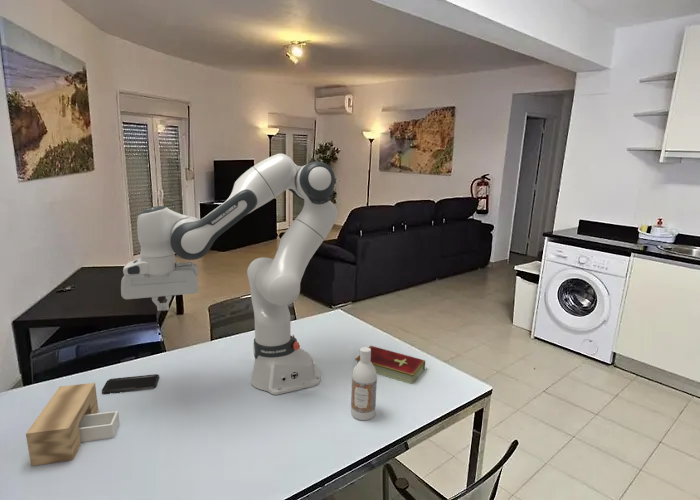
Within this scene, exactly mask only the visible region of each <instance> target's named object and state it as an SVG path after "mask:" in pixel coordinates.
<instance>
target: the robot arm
mask: <svg viewBox="0 0 700 500" xmlns="http://www.w3.org/2000/svg"><path fill="white" fill-rule="evenodd" d="M292 159H293V158H291V157H290V156H288V155H287V154H284V153H276V154H274V155H271V156H269V157H267V158H265V159H263V160H261V161H260V162H258V163H256V164H255V165H253V166H251V167H250V168H249V169H247V170H246V171H245V172H244V173H242V174H241V175H240V176H239V177H238V178H237V179H236V181H234V183H233V187H232V190H231V193H230V195H229V197H228V198H227V199H226V200H225V201H224V202H222V204H220V205H219V206H217V207H216V208H214V209H213V210H212V211H210V212H209V213H208V214H207V215H205V216H204V217H202V218H200V219H198V217H194V216H191V215H185V214H182V213H179V212H177V211H174V210H172V209H171V208H168V207H167V206H166V205H160V206H159V205H157V206H151V207H148V208H145V209H143V210H142V211H141V212H139V214H138V216H137V225H136V227H137V228H136V229H137V239H138V240H137V241H138V243H139V245H140V253H139V258H137V259H134V260H132V261H129V262H128V263H126V264H125V265H124V267H123V270H122V272H123V277H122V278H121V280H120V281H121V282H120V294H121V295H120V296H121V297H122V299H124V300H134V299H136V300H137V299H145V298H146V299H147V298H151V301H152V302H153V303H154V305H155V306H156V309H157V310H156V311H158V312H161V311H169V310H170V307H169V306H170V305H169V304H170V302H171V300H172V298H173V296H180V295H183V296H184V295H193V294H194V295H195V294H196V293H198V291H199V288H200V287H199V281H198V277H197V276H198V274H199V267H198V265H197V264H196V263H193V262H191V261H193V260H198V259H201V258H203V257H204V256H205V255H206V254H208V252H209V251H210V250H211V248H212V246H213V245H214V243H215V241H216V240H217V239H218V238H219V237H220V236H221V235H223V234H224V233H225V232H226V231H228V230H229V229H230V228H231V227H233V226H234V225H236V224H237V223H238V222H239V221H241V220H242V219H243V218H244V217H245V216H247V215H248V214H251V213H252V212H254V211H255V210H257V209H259V208H260V207H262V206H264V205H265V204H267V203H269V202H271V201H272V200H274V198H276V197H277V196H279V195H280V194H282V193H283V192H285V191H287V190H288V191H290V192H291V193H293V194H294V195H295V196H296V197H297V198H299V199H301V200H303V201H304V203H303V207H302V209H301V211H300V213H299V214H297V216H296V217H295V219H294V220H293V221H292V223H291V224H290V225H289V227H288V228H287V230H286V231H285V232H284V234H283V235H282V236H281V237H280V239H279V246H278V249H277V251H276V253H275V256H274V258H271V257H258V258H256V259H253V261H251V262H250V264H249V265H248V267H247V269H246V270H247V271H246V275H247V278H248V283H249V291H250V299H251V304H252V308H253V310H252V311H253V315H254V339H253V357H254V361H253V362H254V363H253V369H252V374H251V378H250V384H251V385H252V386H253V387H255V388H257V389H258V390H261V391H265V392H268V393H270V394H272V395H274V396H275V395H276V396H277V395H282V394H286V393H289V392H290V393H291V392H296V391H299V390H303V389H307V388H312V387H315V386H318V385H320V383H321V382H322V373H321V370H320V368H319V367H318V366H317V365H316V364H315V363H314V360H313V358H312V357H311V354H310V353H308V352H307V351H305V350H304V349H302V348H301V345H300V343H299V342H298V340H297V338H296V337H295V335H294V334H291V313H290V309H289V306H290V305H292V304H293V303H295V301H296V300H297V299H298V298H299V295H300V292H301V282H302V278H303V276H304V274H305V271H306V268H307V267H308V265H309V262H310V260H311V259H312V258H313V256H314V255H315V253H316V251H318V249H319V247H320V246H321V245H322V243H323V242H324V240H325V239H326V238H327V236H328V235H329V234H330V232H331V230H332V229H333V227H334V224H335V223H336V220H337V218H338V216H339V215H338V214H339V213H338V209H337V207H336V205H335V204H334V203H333V202H332V201H331V200H333V197H334V188H335V185H336V183H335V182H336V178H335V177H336V176H335V173H334V171H333V169H332V168H331V166H329V165H328V164H327V163H325V162H322V161H311V162H309V163H307V164H305V165H297V164H295V162H294V160H292ZM175 254H176V255H177V256H178V257H179V258H181V259H184V260H188V262H176V256H175ZM159 297H165V300H166V302H160V301H159V300H158V299H159Z"/></svg>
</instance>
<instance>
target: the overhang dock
mask: <svg viewBox="0 0 700 500" xmlns="http://www.w3.org/2000/svg"><path fill="white" fill-rule="evenodd" d="M96 413H99V405H98V396H97V388H96V382H91V383H89V382H88V383H80V384H72V385H61V386H59V387H58V388H57V390H56V391H55V393H54V394H53V395H52V397H51V398H50V399H49V400H48V402H47V404H46V405H45V406H44V408H42V411H41V412H40V413H39V415H38V416H37V418H36V419H35V421H33V422H32V424H31V426H30V427H29V428H28V430H27V431H26V433H25V437H26V438H25V439H26V444H27V449H28V455H29V461H30V462H29V463H30V466H31V467H32V466H34V467H35V466H39V465H41V466H42V465H47V464H54V463H62V462H69V461H73V460H74V459H75V457H76V456H77V453H78V451H79V450H80V447H81V445H82V442H81V441H80V433H79V426H78V425H79V423H80V421H81V419H82V418H83V416H84V415H88V414H96Z"/></svg>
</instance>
